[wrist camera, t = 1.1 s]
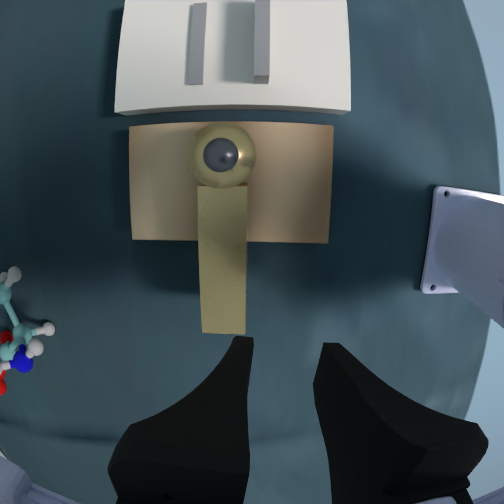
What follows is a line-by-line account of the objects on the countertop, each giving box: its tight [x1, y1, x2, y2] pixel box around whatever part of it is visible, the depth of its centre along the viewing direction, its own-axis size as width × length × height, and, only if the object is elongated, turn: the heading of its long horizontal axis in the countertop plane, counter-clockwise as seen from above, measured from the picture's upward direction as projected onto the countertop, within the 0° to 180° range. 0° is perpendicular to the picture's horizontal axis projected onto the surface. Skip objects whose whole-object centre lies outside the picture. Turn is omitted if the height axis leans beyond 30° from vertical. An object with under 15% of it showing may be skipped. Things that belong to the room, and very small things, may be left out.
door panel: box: [114, 0, 351, 116], centre depth 16 cm, size 14×8×4 cm, turn 89°
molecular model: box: [0, 266, 55, 395], centre depth 20 cm, size 12×10×10 cm
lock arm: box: [188, 122, 256, 334], centre depth 17 cm, size 11×3×4 cm, turn 179°
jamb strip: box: [129, 121, 334, 243], centre depth 19 cm, size 12×7×2 cm, turn 89°
